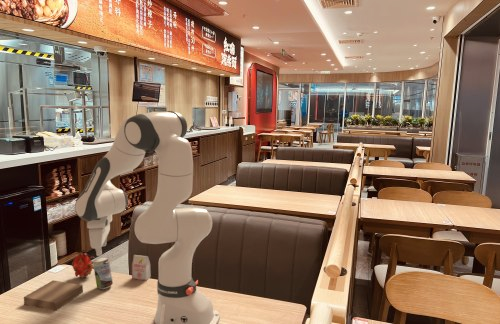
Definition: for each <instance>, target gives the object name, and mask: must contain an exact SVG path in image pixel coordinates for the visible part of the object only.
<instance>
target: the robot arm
mask: <svg viewBox="0 0 500 324" xmlns="http://www.w3.org/2000/svg"><path fill="white" fill-rule="evenodd" d="M187 123H188V122H187V121H186V118H185V117H184V115H183V114H181V113H180V112H178V111H172V110H167V111H151V112H150V111H149V112H146V113H141V114H140V113H138V114H136V115H130V116H128V117H126V118H125V119H124V120H122V123H121V125H120V126H119V128H118V130H117V132H116V135H115V137H114V141H113V143H112V145H111V147H110V149H109V150H108V152H106V154H105V155H104V156H103V157H102V158H101V159H99V160H98V162H97V163H96V164H95V166H94V168H93V170H92V171H91V174H90V176H89V179H88V180H87V182H86V184H85V187H84V189H83V190H82V192H81V193H80V195H78V197H77V198H76V200H75V204H74V210H75V213H76V215H77V216H78V217H79V218H80V219H81V220H83V221H86V222H87V224H86V227H87V229H89V230H88V235H89V245H90V247H91V248H90V249H94V250H95V252H96V253H95V254H96V256H97V257H101V256H102V255H103V250H102V247H106V246H107V240H108V235H109V233H110V231H111V222H112V221H113V215H116V214H120V213H123V212H124V211H125V210H126V208H127V207H128V194H127V193H126V192H125V191H124V190H123V189H121V188H118V187H116V186H115V185H114V184H113V183H112V181H111V180H112V179H114V178H116V177H118V176H119V175H122V174H124V173H127V172H131V171H133V170H135V169H136V168H138V167H139V166H140V165H141V163H142V162H143V161H144V159H145V155H146V153H147V154H151V153H154V152H155V153H156V155H157V157H158V165H157V166H158V167H157V168H158V169H157V170H158V171H157V188H156V189H157V190H156V193H155V197H154V199H153V201H152V202H151V204H150V206H149V207H147V208H146V209H145V210H144V211H143V212H141V214H139V215H138V217H137V218H136V220H135V222H134V234H135V236H136V238H137V239H138V241H139V242H141V244H152V245H159V244H167V243H174V244H173V245H172V246H171V247H170V248H169V249H167V250H166V251H164V252H163V253H162V254H161V256H160V257H159V259H158V279H157V284H156V285H157V286H156V287H157V295H158V297H157V298H158V299H157V306H156V312H155V316H154V323H155V324H218V323H219V321H220V320H221V319H220V317H221V316H220V315H221V314H220V312H219V311H218V310H216V309H214V306H213V302H212V300H211V299H210V298H209V297H207V295H205V294H204V293H203V292H202V291H200V290H199V289H198V288H197V285H198V284H199V280H198V279H197V280H196V281H195V280H194V279H193V277H192V267H193V266H192V265H193V264H192V263H193V257H194V254H195V252H196V249H197V247H198V246H199V245H200V243H201V242H202V241H203V240H204V239H205V238H206V237H207V236H208V235H209V234H210V233H211V231H212V228H213V218H212V215H211V214H210V212H209V211H208V210H207V209H206V208H202V207H194V206H193V207H181V208H178V206H179V205H180V204H181V203H183V202H184V201H186V200H188V199H189V198H190V197H191V195H192V192H193V185H194V184H193V183H194V160H193V159H194V157H193V150H192V146H191V143H190V142H189V140H188V139H187V138H184V137H185V136H186V134H187V132H188V124H187Z"/></svg>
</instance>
